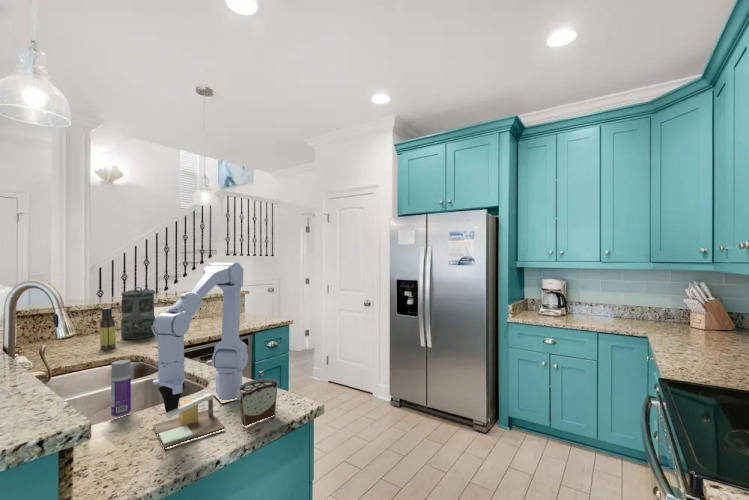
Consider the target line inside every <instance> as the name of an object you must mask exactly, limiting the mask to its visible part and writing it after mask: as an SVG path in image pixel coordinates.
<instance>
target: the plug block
mask: <svg viewBox="0 0 749 500" xmlns="http://www.w3.org/2000/svg"><path fill="white" fill-rule="evenodd" d="M196 399H197V398H196V397H193V398H190V399H189V398H188V399H185V400H181V401H180V400H179V404H178V407H180V406H182V405H185V404H187V403H189V402H191V401H194V400H196ZM198 412H199V404H198V405H196V406H194V407H191V408H189V409H187V410H185V411H183V412H181V413H179V414H178V418H179V421H180V423H181V425H186V424H190V423H193V422H197V421H198Z"/></svg>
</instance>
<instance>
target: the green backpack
mask: <svg viewBox="0 0 749 500" xmlns="http://www.w3.org/2000/svg"><path fill="white" fill-rule="evenodd" d="M139 289H140V290H139ZM155 294H156V292H155V290H153V289H149V290H147V289H146V290H145V289H142V287H140V286H134V290H126V291H122V292H121V295H120V296H121V303H120V304H121V306H120V307H121V320H120V333H121V335H120V336H121V339H123V340H125V341H126V340H144V339H148V338H150V337H152V336H154V335H155V334H154V333H153V331H152V326H153V323H154V320H155V318H156V317H155V316H156V315H155ZM143 338H144V339H143Z"/></svg>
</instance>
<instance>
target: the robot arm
mask: <svg viewBox="0 0 749 500" xmlns="http://www.w3.org/2000/svg"><path fill="white" fill-rule="evenodd" d="M215 286H216V287H218V288H220V290H221V291H222V292H223V298H222V301H223V303H222V321H221V322H222V324H221V325H222V326H221V328H222V329H221V341H219V342H218V343H217V344H216V345H215V346H214V350H213V353H212V358H211V363H212V366H213V368H215V372H216V374H215V393H217V394H218V397H219V399H222V400H230V399H235V398H237V393H238V390H239V387H240V386H241V385H243V370H244V369H245V368H246V366H247V365H248V362H249V354H248V347H247V346H248V345H247V344H246V343H245V342H243V341H242V340H241V339H240V321H241V320H240V319H241V316H240V315H241V292H242V288H243V287H244V268H243V267H242V265H241V264H240V263H239V262H237V261H233V262H214V261H211V262H209V263H208V264H206V266H205V267H204V268H203V275H202V276H201V278H200V279H199V280H198V282H197V283H196V285H194V287H193V288H192V290H191V291H187V292H184V293H181V294H180V296H179V298H178V299H177V300H176V301H175V302H174V303H173V305H171V306H170V308H169V309H167V311H166V312H162V313H160V314H159V315H158V316H156V317H155V320H154V323H153V326H152V331H153V333H154V335H155V341H156V343H157V367H158V368H157V377H158V378H156V379H153V380H152V384H153V385H154V386H156V385H160V386H159V387H157V390H158V391H159V393H160V395H161V397H162V400H163V401H162V402H163V404H164V405H163V406H164V411H165V414H166V413H167V412H169V411H171V410H174V409H177V408H178V407H179V402H180V398H181V396H182V393H183V392H184V390H185V387H186V386H185V383H184V382H185V380H186V375H185V334H186V333H188V331H189V328H190V325H191V322H192V318H193V317H194V315H195V314H196V313H197V312H198V311H199V309H200V308H201V307H202V306H203V301H202V300H203V298H205V297H206V295H207V294H209V292H210V291H211V290H212V289H213V288H215Z"/></svg>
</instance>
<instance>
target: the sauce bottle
mask: <svg viewBox="0 0 749 500" xmlns="http://www.w3.org/2000/svg"><path fill="white" fill-rule="evenodd" d="M112 311H113V308H112V307H103V308H101V314H102V315H101V319H100V321H99V345H100V349H101V350H111V349H115V347H116V346H117V345H116V341H117V339H116V337H117V336H116V322H115V319H114V317H113V312H112Z"/></svg>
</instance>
